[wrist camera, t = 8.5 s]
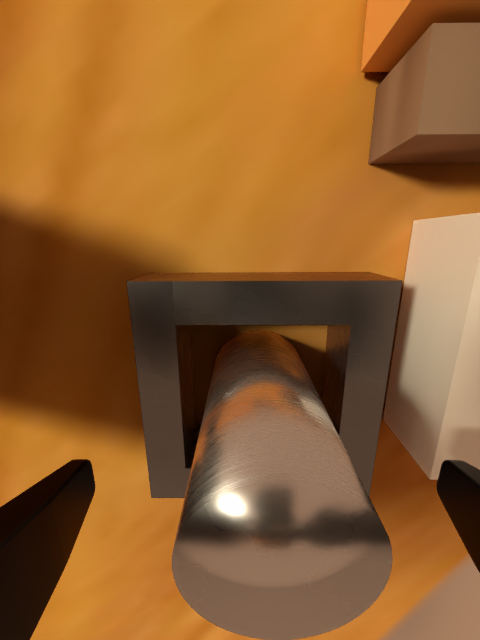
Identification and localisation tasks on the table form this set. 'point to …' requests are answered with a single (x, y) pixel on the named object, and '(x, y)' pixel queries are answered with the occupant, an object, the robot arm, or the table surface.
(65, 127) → the table surface
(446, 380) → the frame
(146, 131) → the table surface
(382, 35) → the block
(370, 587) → the peg
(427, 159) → the key guide
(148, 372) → the socket block
